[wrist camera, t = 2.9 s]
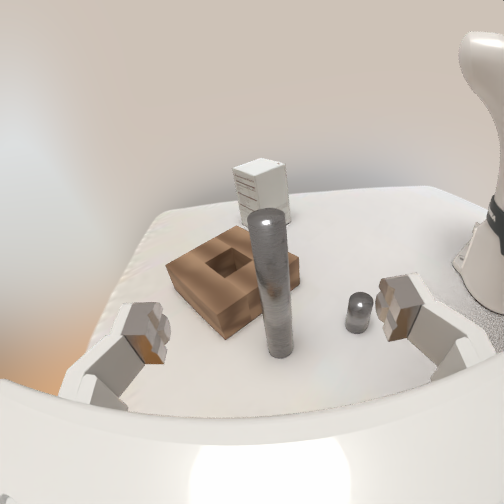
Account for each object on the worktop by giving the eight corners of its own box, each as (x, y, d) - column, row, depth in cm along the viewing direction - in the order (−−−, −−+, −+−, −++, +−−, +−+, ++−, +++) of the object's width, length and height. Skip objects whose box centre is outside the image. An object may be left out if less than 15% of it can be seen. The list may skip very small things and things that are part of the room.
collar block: (241, 249, 50) (236, 225, 47) (299, 283, 41) (298, 257, 38) (175, 289, 43) (165, 265, 40) (225, 339, 34) (216, 315, 31)
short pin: (353, 312, 35) (357, 288, 32) (371, 322, 33) (377, 299, 30) (340, 326, 33) (344, 302, 31) (359, 337, 31) (365, 314, 29)
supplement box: (268, 211, 60) (261, 156, 53) (291, 222, 55) (286, 163, 48) (241, 224, 57) (230, 167, 50) (263, 237, 52) (254, 174, 45)
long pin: (280, 334, 34) (266, 204, 23) (298, 347, 32) (293, 214, 21) (263, 348, 32) (239, 218, 22) (280, 362, 30) (265, 231, 20)
